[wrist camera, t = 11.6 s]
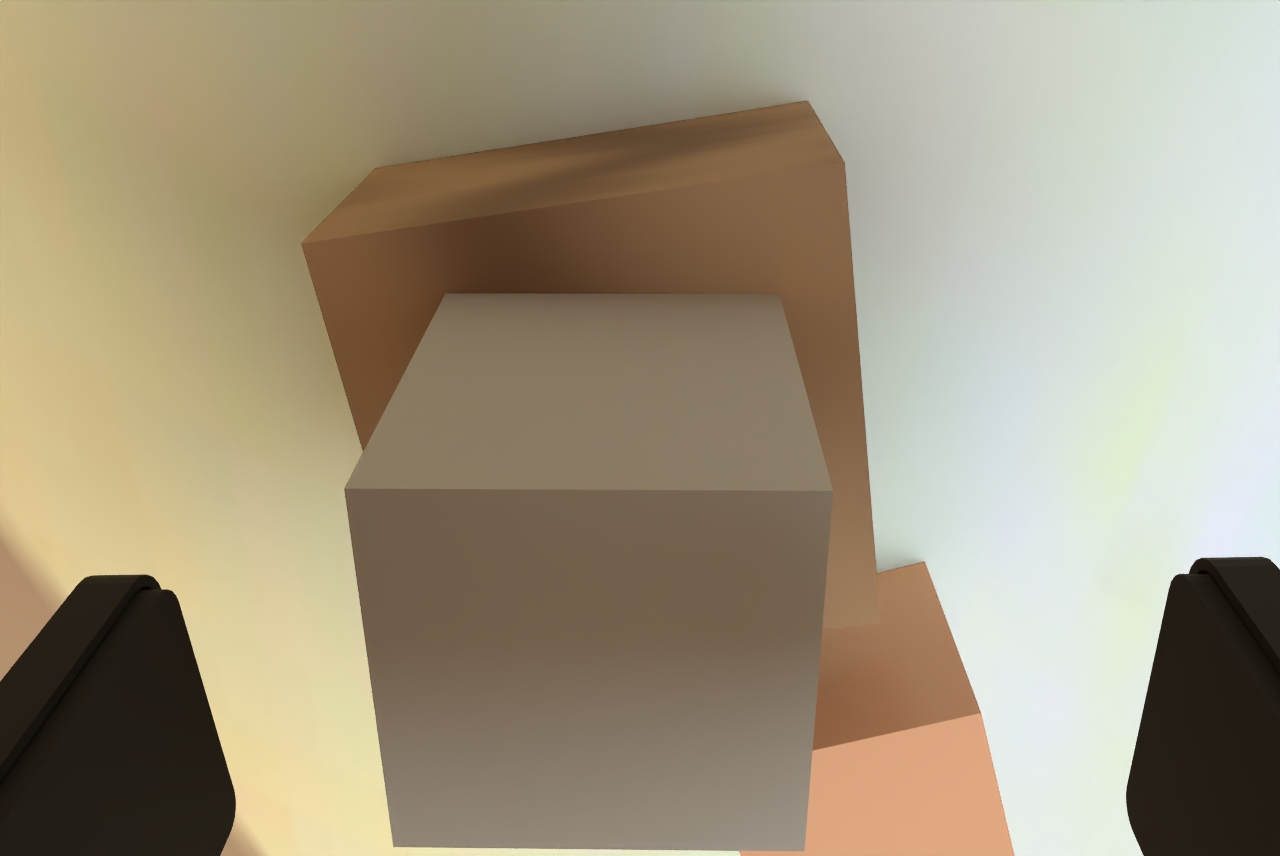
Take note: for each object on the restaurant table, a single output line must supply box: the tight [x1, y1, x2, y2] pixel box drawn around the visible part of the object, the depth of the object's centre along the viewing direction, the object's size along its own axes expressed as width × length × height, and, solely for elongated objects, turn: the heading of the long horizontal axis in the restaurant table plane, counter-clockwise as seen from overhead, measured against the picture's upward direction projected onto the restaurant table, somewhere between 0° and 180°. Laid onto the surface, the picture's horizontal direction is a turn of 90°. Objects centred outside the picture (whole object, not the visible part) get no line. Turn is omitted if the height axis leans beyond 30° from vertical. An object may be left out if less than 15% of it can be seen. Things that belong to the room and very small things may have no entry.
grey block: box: [344, 293, 833, 851], centre depth 15 cm, size 5×5×6 cm
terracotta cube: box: [739, 562, 1014, 856], centre depth 24 cm, size 5×5×5 cm
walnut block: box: [301, 101, 880, 629], centre depth 20 cm, size 8×8×5 cm
